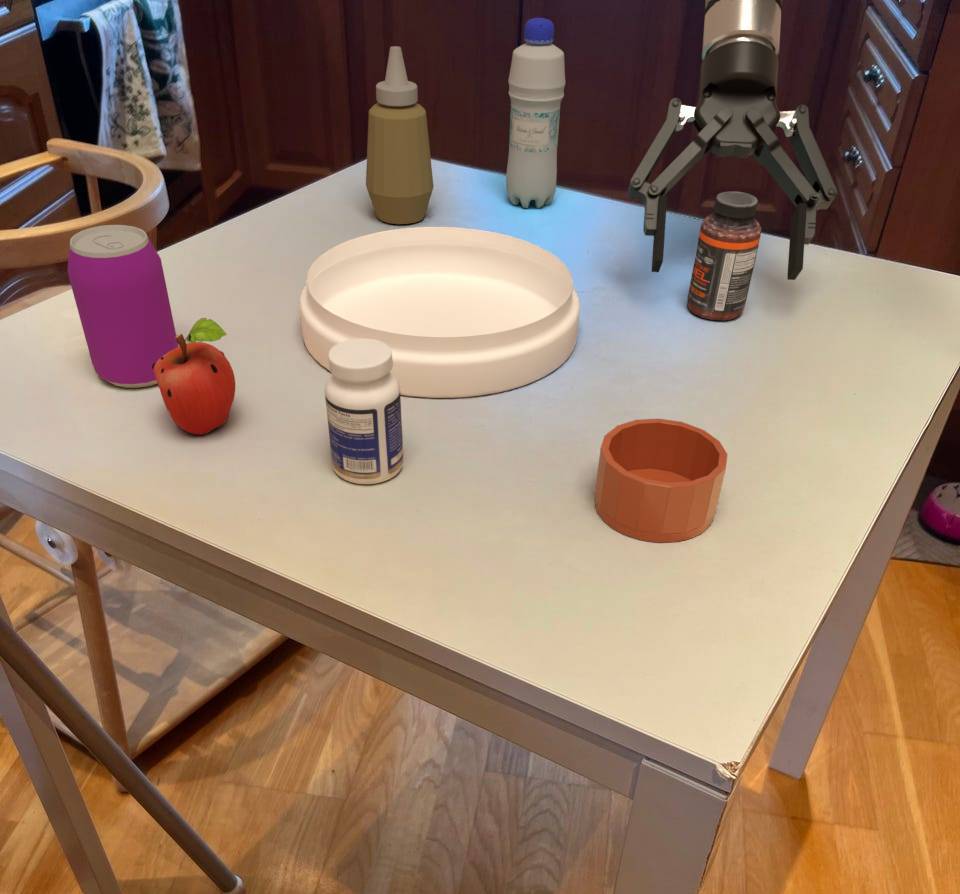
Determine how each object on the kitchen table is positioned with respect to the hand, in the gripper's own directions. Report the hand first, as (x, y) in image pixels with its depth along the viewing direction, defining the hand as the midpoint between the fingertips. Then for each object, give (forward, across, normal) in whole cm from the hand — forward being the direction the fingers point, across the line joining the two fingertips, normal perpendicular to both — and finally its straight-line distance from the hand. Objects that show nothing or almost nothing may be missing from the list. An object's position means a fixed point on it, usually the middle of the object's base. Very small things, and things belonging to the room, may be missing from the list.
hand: (725, 270), depth 96 cm
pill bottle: (+26, +31, +18) cm, 44 cm away
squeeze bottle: (-13, +36, -20) cm, 43 cm away
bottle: (-18, +20, -26) cm, 37 cm away
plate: (+8, +28, +1) cm, 29 cm away
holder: (+28, +8, +21) cm, 35 cm away
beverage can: (+16, +54, +9) cm, 57 cm away
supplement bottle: (+2, 0, -5) cm, 6 cm away
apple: (+22, +46, +15) cm, 53 cm away
